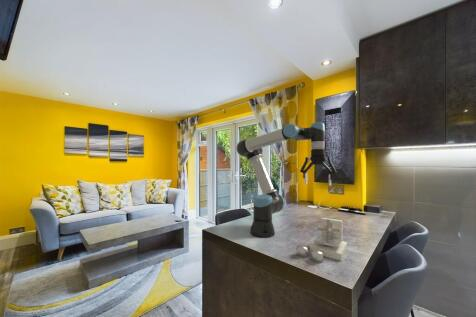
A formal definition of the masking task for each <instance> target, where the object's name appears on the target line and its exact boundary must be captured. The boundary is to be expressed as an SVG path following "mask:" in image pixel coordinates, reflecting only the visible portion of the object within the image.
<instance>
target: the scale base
mask: <svg viewBox="0 0 476 317" xmlns="http://www.w3.org/2000/svg"><path fill="white" fill-rule="evenodd" d="M326 219H330V228H339V229H340V232H334V231H332V232H333V234H332V235H330V236H332V237H336V238H341V239H342V242H341V244H340V246H339V248H337V247H333V246H329V245H324V244H320V243H316V242H314V241H313V242H312V243H311V244H310V246H309V253H311V254H312V249H318V250H321V251H323V257H326V258H329V259H333V260H337V261H343V258H344V256H345V254H346V252H347V248H348V241H344V239H343V236H344V235H343V233H344V231H343V227H344V226H343V220H341V219H334V218H329V217H321V227H324V226H325V225H326ZM321 234H322V235H326V231H321Z"/></svg>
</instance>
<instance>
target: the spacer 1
mask: <svg viewBox="0 0 476 317" xmlns="http://www.w3.org/2000/svg"><path fill="white" fill-rule="evenodd" d="M296 248H297V249H296V253H297V254H296V255H297V256H298V257H299V256H300V258H308V257H309V246H307V245H306V244H298V245H297V247H296Z"/></svg>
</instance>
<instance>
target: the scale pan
mask: <svg viewBox="0 0 476 317" xmlns="http://www.w3.org/2000/svg"><path fill="white" fill-rule="evenodd" d="M313 242H316V243H320V244H324V245H329V246H333V247H337V248H339V246H340V244H341V242H342V239H341V238H336V237H332V236H330V240H327V238H326V235H322V233H319V234H318V235H317V237H316V238H314V240H313Z"/></svg>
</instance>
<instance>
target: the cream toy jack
mask: <svg viewBox="0 0 476 317" xmlns="http://www.w3.org/2000/svg"><path fill="white" fill-rule="evenodd" d="M330 219H331V218H329V219H326V225H325V226H324V227H322V226H317V231H321V232H322V231H326V238H327V240H330V235H332V234H333V232H332V231H334V232H340V229H339V228H330Z"/></svg>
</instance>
